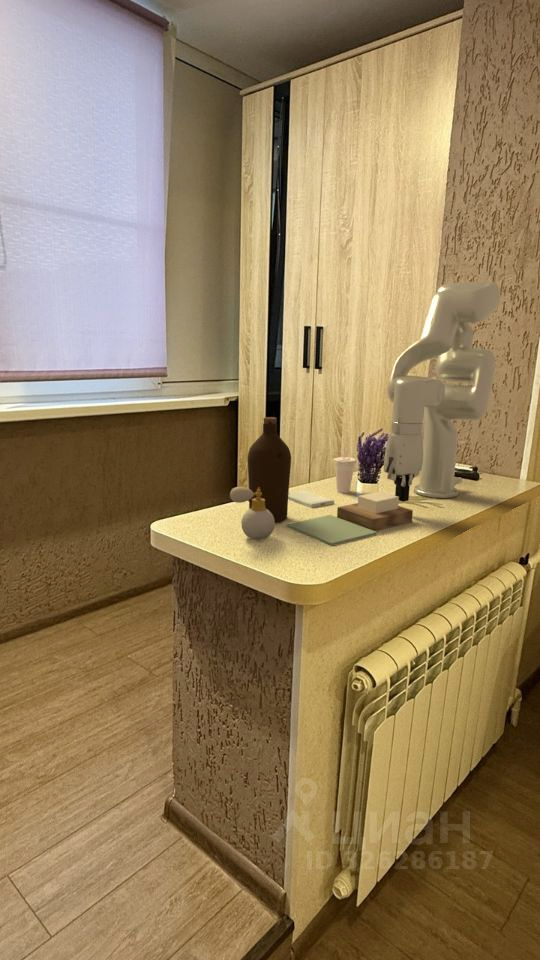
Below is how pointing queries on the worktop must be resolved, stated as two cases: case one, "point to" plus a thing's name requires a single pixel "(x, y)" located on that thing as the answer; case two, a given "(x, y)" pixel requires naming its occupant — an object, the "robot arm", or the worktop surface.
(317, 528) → the mat
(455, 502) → the worktop surface
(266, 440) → the olive oil
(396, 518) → the wooden block
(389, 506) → the cream rectangular block
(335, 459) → the smoothie
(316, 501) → the hard drive
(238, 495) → the perfume bottle
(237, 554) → the worktop surface
